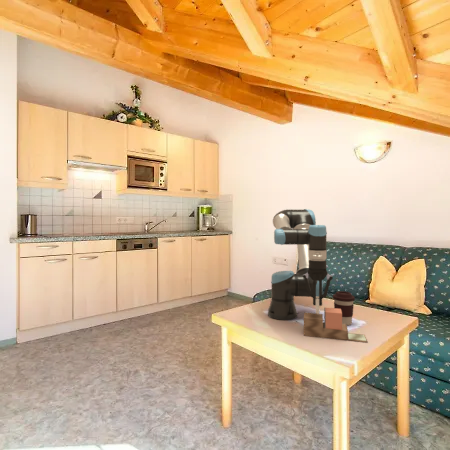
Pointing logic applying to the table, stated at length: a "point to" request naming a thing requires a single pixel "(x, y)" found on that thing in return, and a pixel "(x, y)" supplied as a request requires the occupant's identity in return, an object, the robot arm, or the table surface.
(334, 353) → the table surface
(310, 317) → the stair
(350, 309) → the coffee cup
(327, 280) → the robot arm
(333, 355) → the table surface
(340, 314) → the block
